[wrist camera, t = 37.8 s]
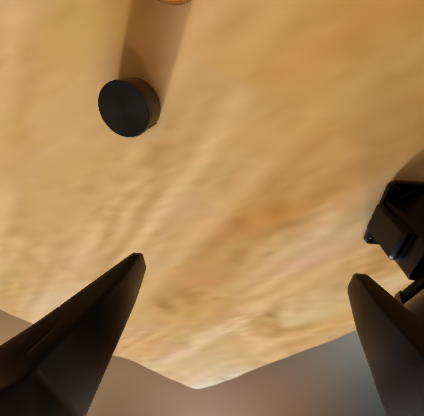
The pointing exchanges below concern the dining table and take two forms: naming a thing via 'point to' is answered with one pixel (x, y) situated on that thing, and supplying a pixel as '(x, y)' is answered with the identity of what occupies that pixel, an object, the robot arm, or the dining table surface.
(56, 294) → the dining table surface
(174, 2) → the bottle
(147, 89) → the cap
